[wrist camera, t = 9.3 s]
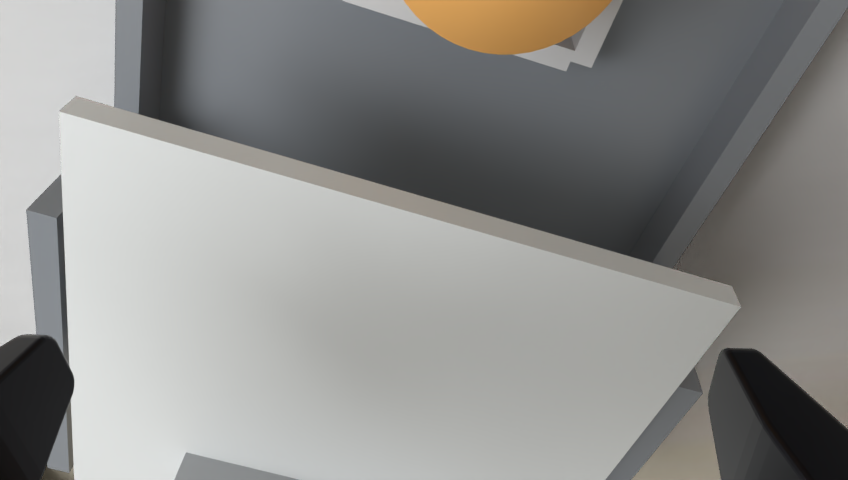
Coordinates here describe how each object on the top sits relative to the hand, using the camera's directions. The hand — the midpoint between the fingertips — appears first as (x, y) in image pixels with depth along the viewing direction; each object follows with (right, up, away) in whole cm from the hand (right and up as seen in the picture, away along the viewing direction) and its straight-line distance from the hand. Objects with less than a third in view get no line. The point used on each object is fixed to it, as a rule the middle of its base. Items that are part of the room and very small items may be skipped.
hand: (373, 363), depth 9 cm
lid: (-1, -2, +7) cm, 7 cm away
